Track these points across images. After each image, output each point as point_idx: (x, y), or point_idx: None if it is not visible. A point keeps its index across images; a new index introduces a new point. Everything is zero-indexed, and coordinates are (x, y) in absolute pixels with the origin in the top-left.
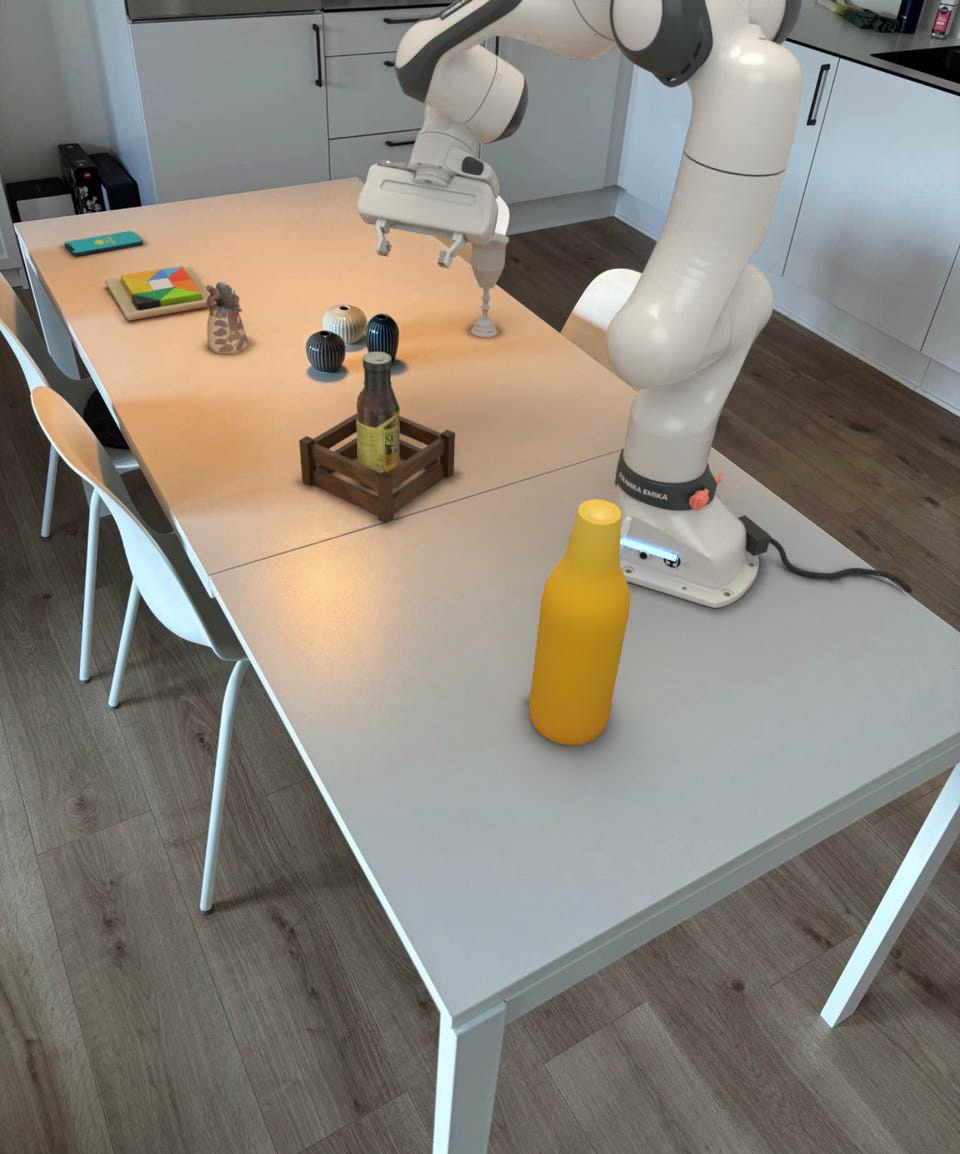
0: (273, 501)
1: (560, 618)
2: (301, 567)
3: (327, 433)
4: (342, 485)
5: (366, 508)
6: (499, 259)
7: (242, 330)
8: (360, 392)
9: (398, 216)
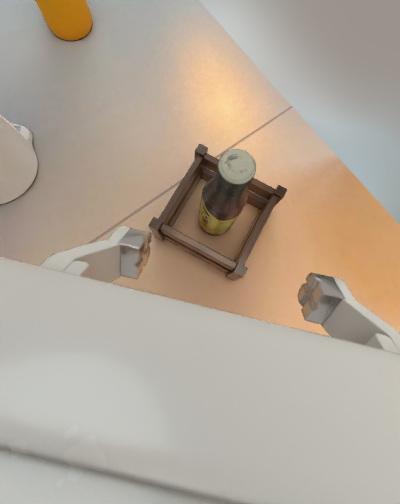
0: (283, 181)
1: None
2: (242, 117)
3: (267, 211)
4: None
5: None
6: None
7: None
8: (247, 189)
9: (350, 348)
